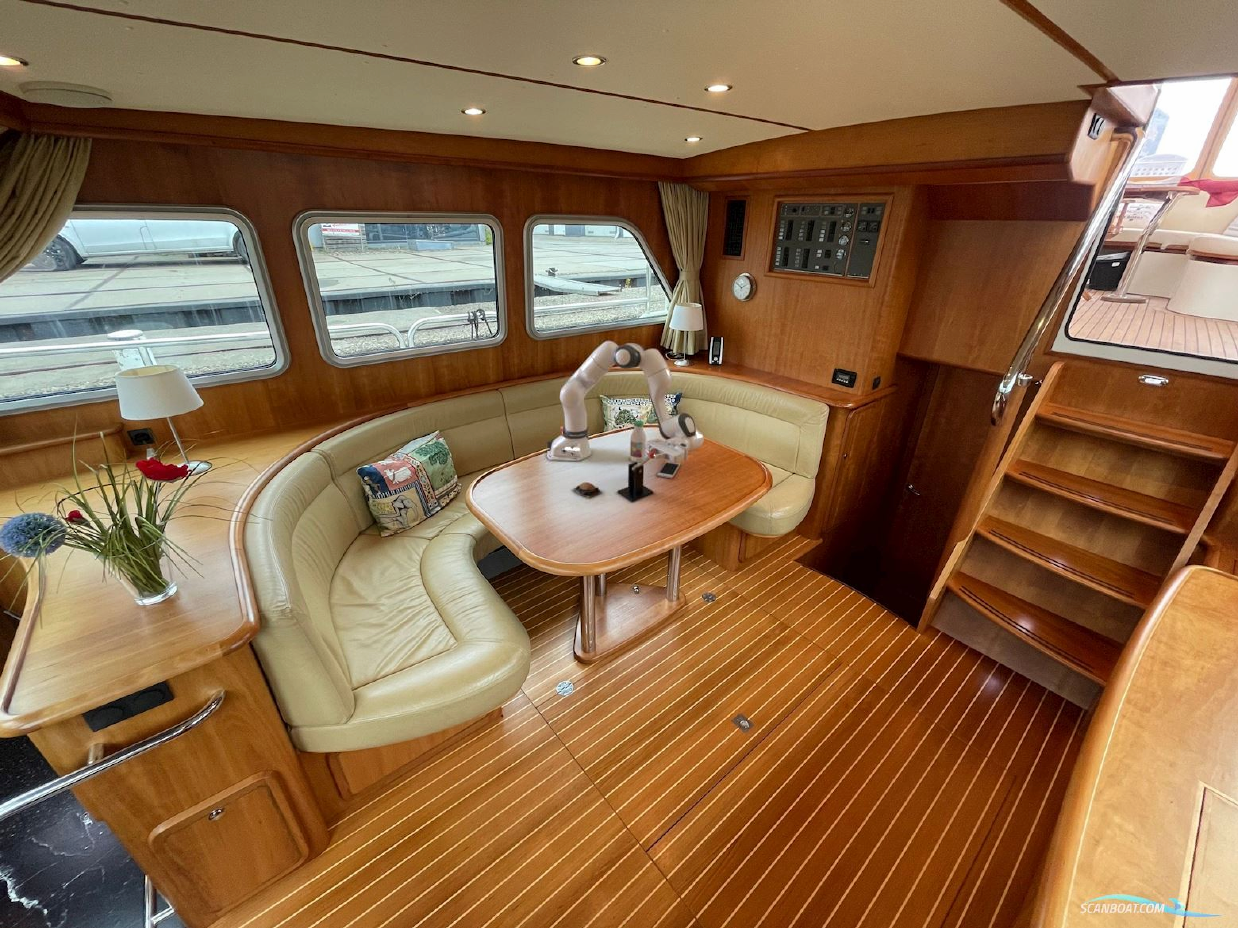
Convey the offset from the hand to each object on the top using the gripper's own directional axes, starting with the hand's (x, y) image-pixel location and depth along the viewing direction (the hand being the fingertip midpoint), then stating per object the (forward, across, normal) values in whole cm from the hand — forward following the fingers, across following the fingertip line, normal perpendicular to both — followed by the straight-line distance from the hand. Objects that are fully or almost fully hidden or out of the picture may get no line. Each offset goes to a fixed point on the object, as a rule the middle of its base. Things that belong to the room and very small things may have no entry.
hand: (650, 455), depth 207 cm
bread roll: (+24, -14, +16) cm, 33 cm away
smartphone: (-18, -8, +16) cm, 26 cm away
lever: (+3, 0, +4) cm, 5 cm away
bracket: (+8, 0, +16) cm, 18 cm away
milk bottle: (-14, -26, +16) cm, 34 cm away
